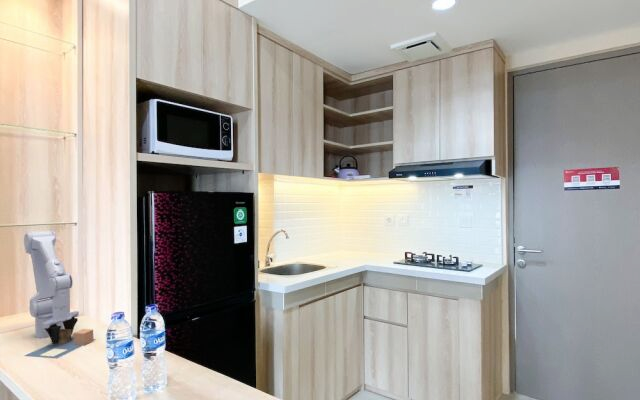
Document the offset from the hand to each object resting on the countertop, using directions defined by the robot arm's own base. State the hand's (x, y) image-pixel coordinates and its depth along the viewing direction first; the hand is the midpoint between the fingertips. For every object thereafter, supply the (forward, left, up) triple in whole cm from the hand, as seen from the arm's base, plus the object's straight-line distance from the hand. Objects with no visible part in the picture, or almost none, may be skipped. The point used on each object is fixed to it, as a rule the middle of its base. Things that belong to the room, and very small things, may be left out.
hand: (61, 340), depth 147 cm
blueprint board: (+4, +4, -2) cm, 6 cm away
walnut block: (0, 0, -1) cm, 1 cm away
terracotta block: (-1, +9, -1) cm, 9 cm away
